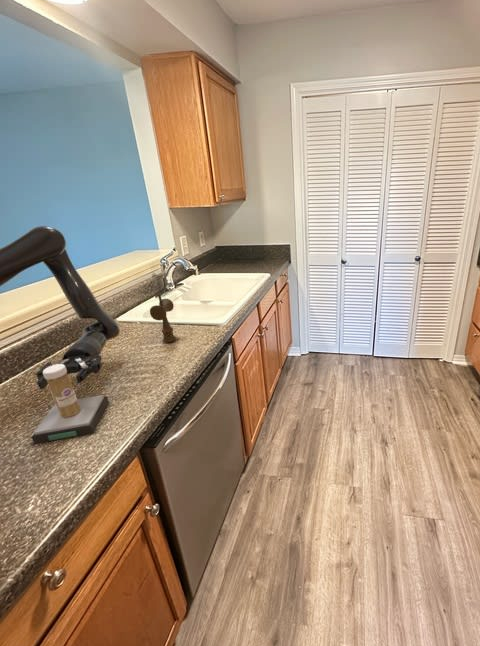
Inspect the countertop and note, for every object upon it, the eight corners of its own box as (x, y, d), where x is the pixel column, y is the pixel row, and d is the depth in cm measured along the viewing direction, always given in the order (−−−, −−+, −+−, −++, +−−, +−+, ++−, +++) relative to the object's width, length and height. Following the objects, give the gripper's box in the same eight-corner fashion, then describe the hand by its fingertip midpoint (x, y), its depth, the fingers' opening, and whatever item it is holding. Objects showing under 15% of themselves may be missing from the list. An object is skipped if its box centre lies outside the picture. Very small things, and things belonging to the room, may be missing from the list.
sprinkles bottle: (70, 419, 81) (52, 373, 76) (56, 417, 82) (37, 372, 77) (85, 408, 86) (69, 363, 80) (71, 406, 87) (54, 362, 81)
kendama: (157, 346, 124) (145, 297, 116) (166, 336, 133) (156, 289, 125) (173, 346, 124) (161, 296, 116) (181, 335, 133) (171, 288, 125)
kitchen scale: (33, 445, 78) (29, 435, 77) (58, 410, 90) (54, 402, 89) (92, 434, 80) (89, 424, 79) (108, 402, 92) (106, 393, 91)
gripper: (52, 345, 93) (21, 374, 78) (106, 338, 95) (86, 365, 81) (61, 368, 95) (33, 400, 81) (113, 360, 98) (95, 390, 84)
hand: (59, 382), depth 81 cm, fingers open, 8 cm apart
